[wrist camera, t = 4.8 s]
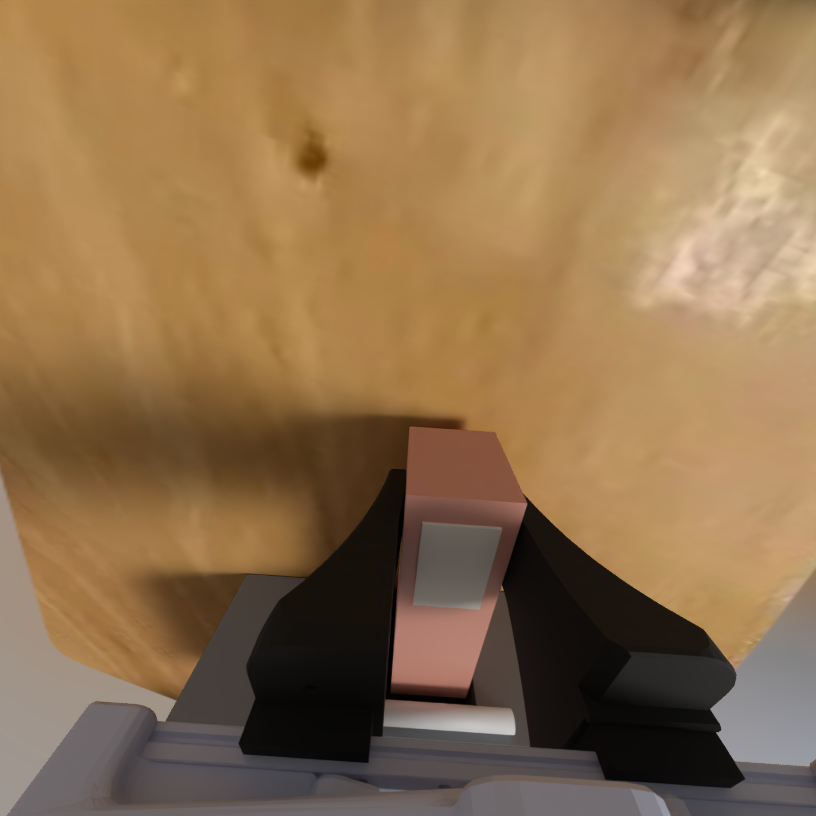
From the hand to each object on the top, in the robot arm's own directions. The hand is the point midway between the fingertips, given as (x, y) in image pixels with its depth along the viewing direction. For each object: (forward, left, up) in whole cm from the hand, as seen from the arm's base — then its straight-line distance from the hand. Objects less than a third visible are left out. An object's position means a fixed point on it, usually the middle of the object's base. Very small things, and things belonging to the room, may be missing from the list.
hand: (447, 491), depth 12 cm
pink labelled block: (-3, 0, -1) cm, 4 cm away
